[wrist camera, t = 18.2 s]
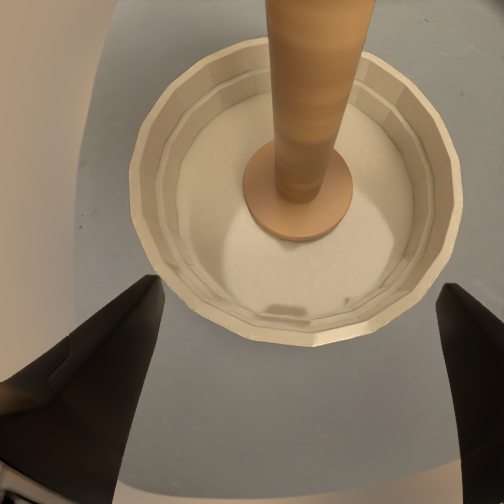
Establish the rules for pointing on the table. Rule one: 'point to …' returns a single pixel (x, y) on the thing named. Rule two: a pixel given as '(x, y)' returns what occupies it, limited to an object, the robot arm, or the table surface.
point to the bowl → (282, 251)
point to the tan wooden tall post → (307, 117)
